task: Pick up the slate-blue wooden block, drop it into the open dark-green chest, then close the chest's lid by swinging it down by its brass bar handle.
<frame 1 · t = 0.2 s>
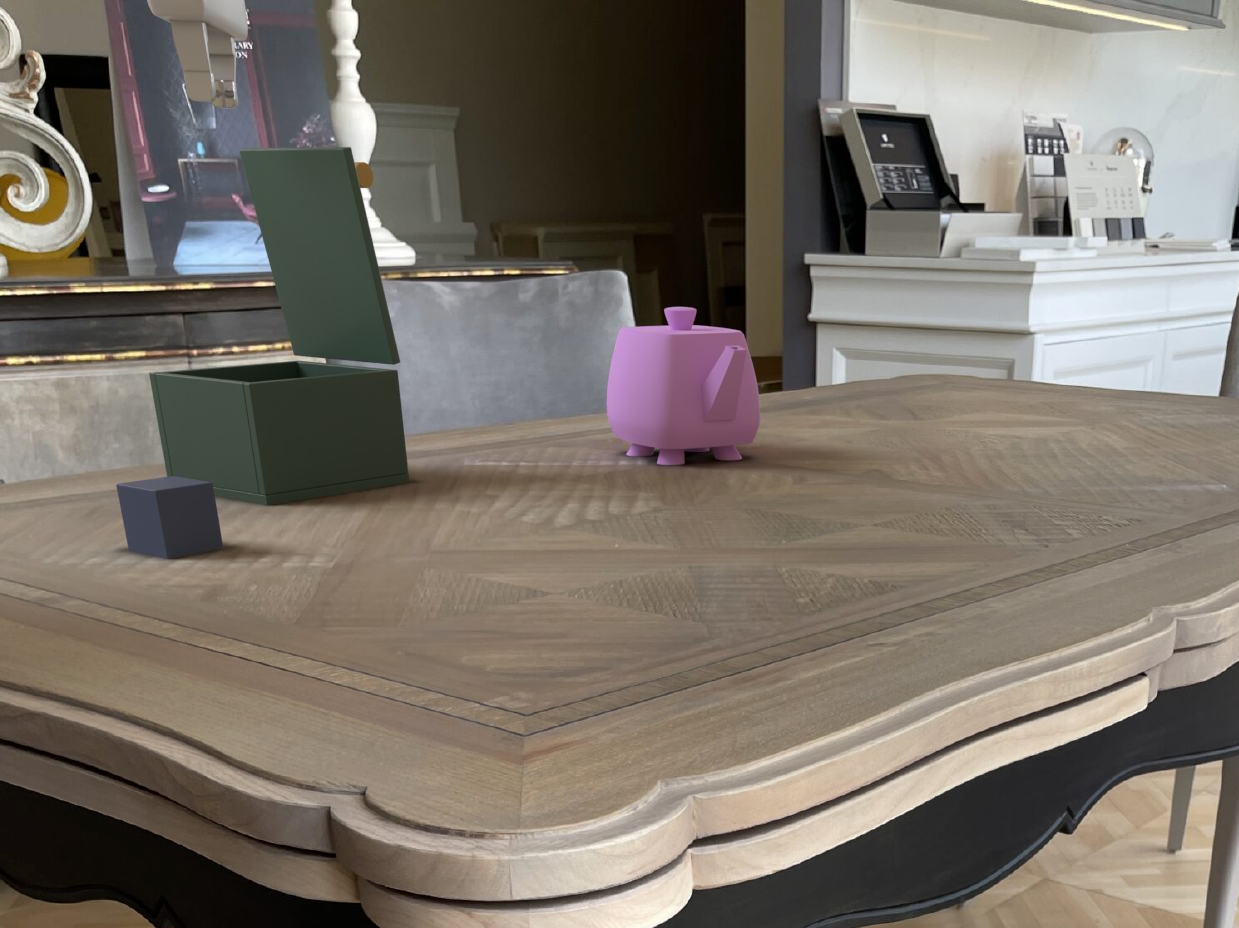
hand: (214, 105, 115), 27 cm above the table, tool pointing down, fingers open, 8 cm apart
block: (176, 551, 106), on the table
teapot: (685, 460, 147), on the table
chest: (291, 486, 130), on the table
lid: (342, 251, 128), point 17 cm above the table, hinge at 80.0°
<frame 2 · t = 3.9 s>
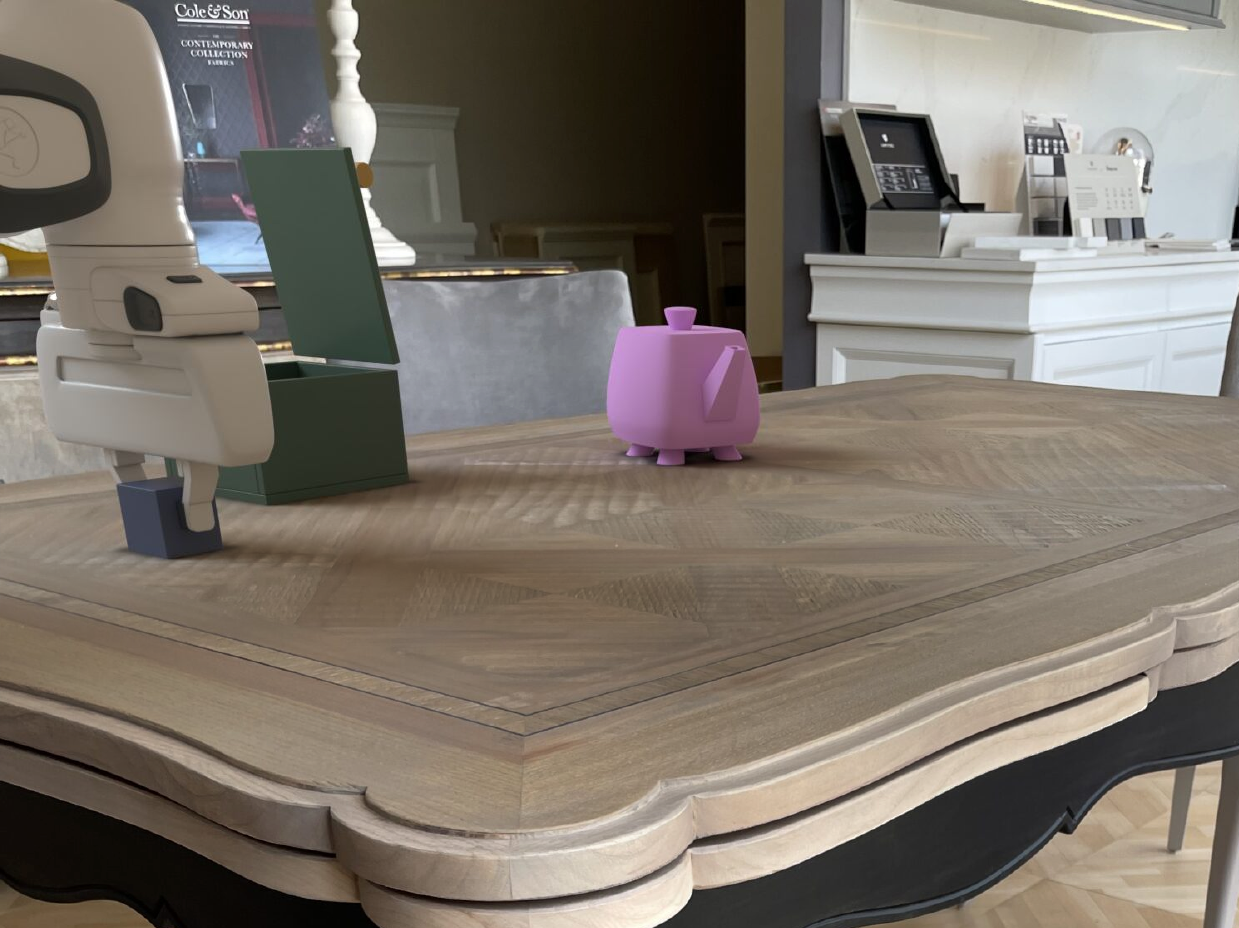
hand: (171, 525, 105), 2 cm above the table, tool pointing down, fingers closed on block, 4 cm apart
block: (176, 551, 106), on the table, touching gripper
everything else where it was.
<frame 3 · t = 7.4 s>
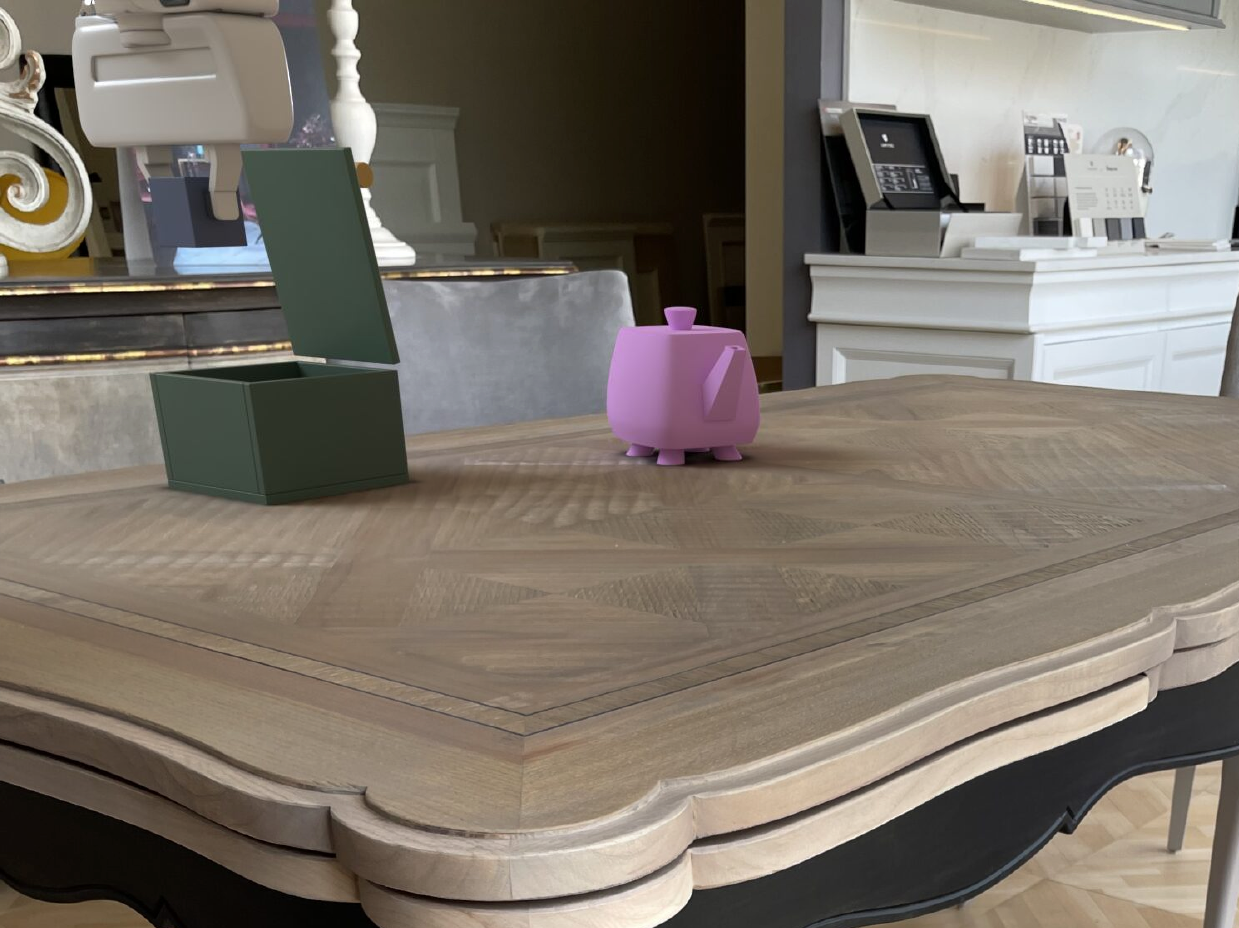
hand: (199, 220, 113), 20 cm above the table, tool pointing down, fingers closed on block, 4 cm apart
block: (204, 246, 114), point 18 cm above the table, touching gripper
everything else where it was.
when the fingers open (9 cm above the table, at t = 10.8 s): block drops 6 cm, resting on chest.
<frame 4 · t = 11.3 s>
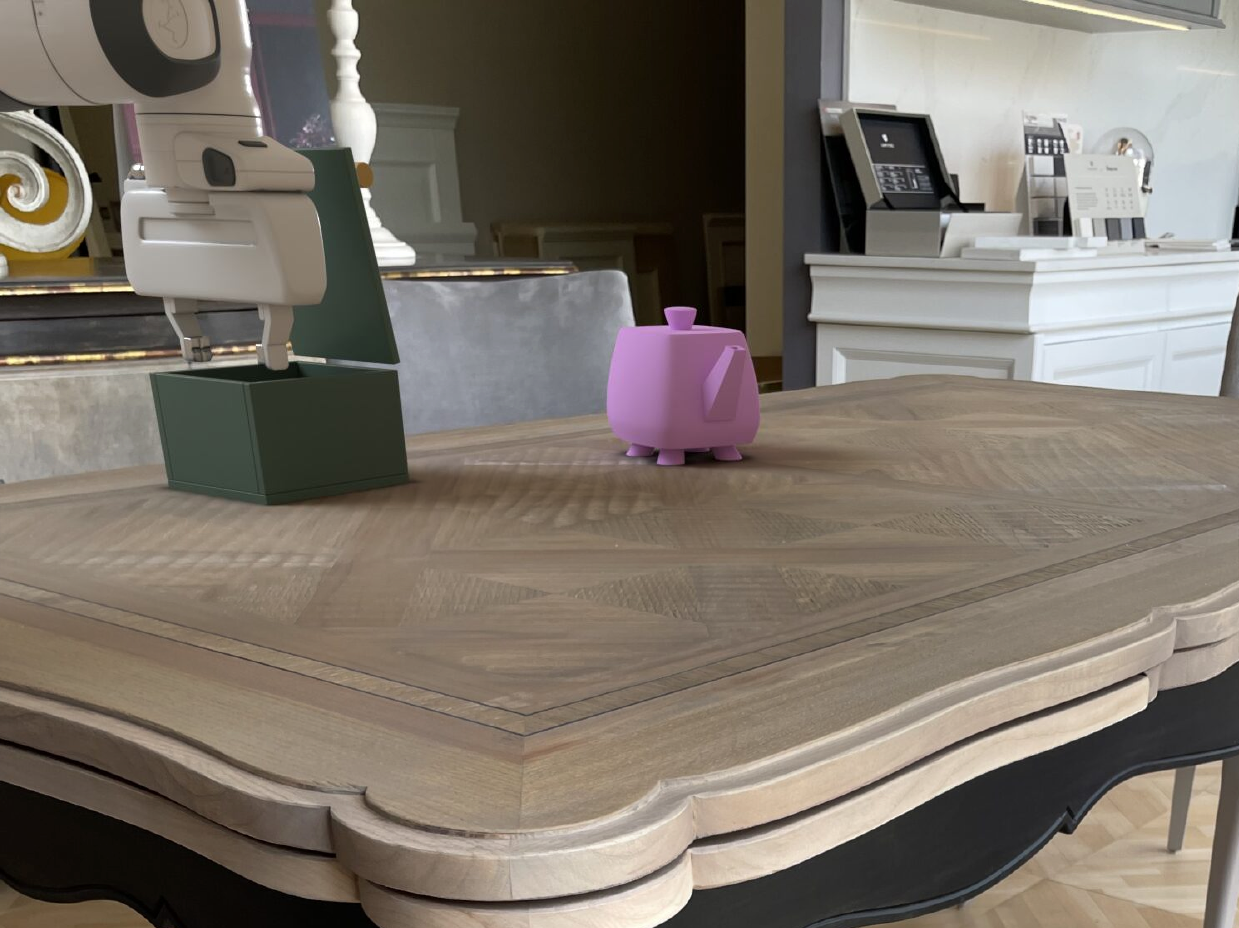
hand: (235, 365, 123), 9 cm above the table, tool pointing down, fingers open, 8 cm apart
block: (254, 481, 127), point 1 cm above the table, touching chest
everything else where it was.
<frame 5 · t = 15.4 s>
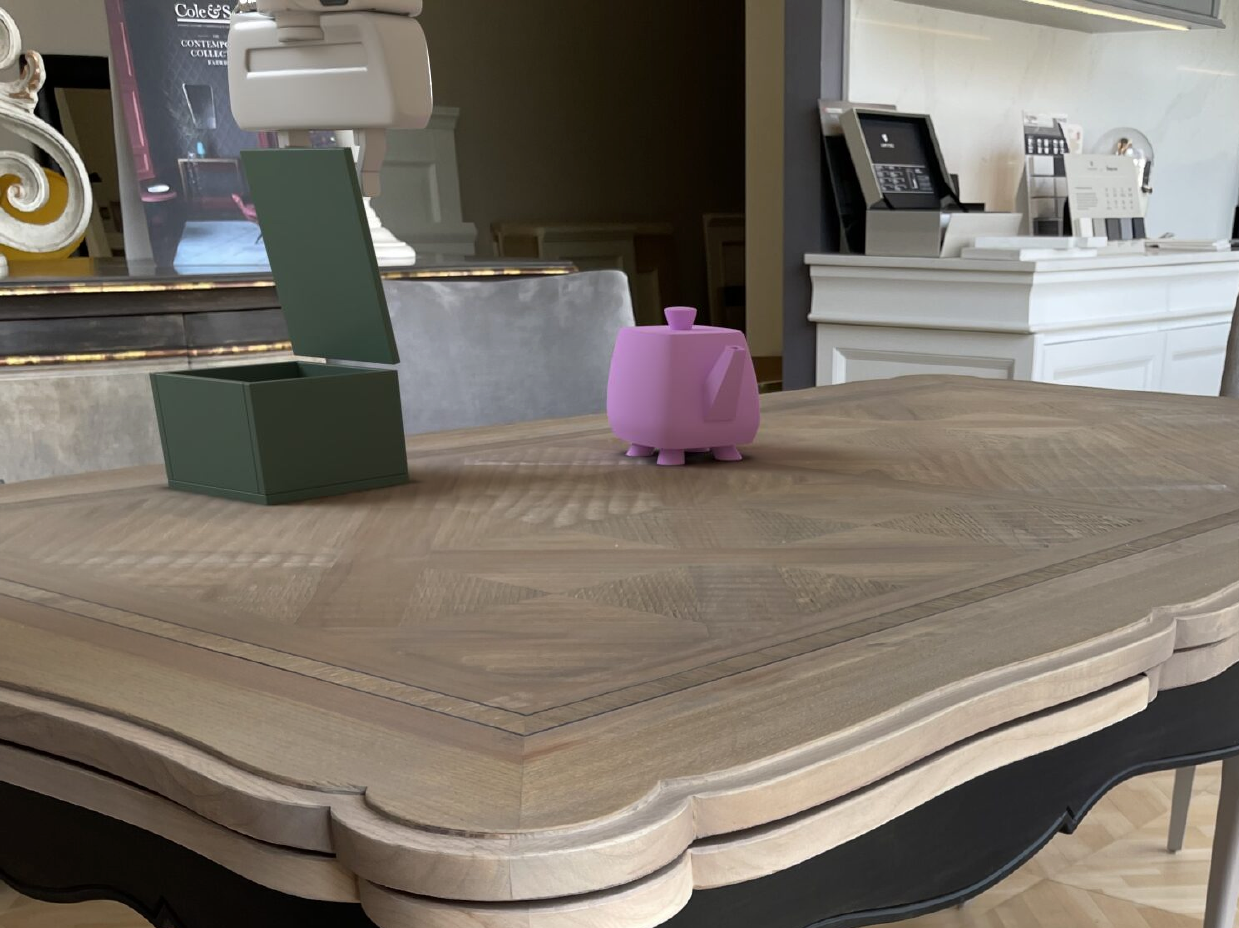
hand: (338, 197, 126), 21 cm above the table, tool pointing down, fingers closed on lid, 5 cm apart
lid: (342, 251, 128), point 17 cm above the table, hinge at 80.0°, touching gripper
everything else where it was.
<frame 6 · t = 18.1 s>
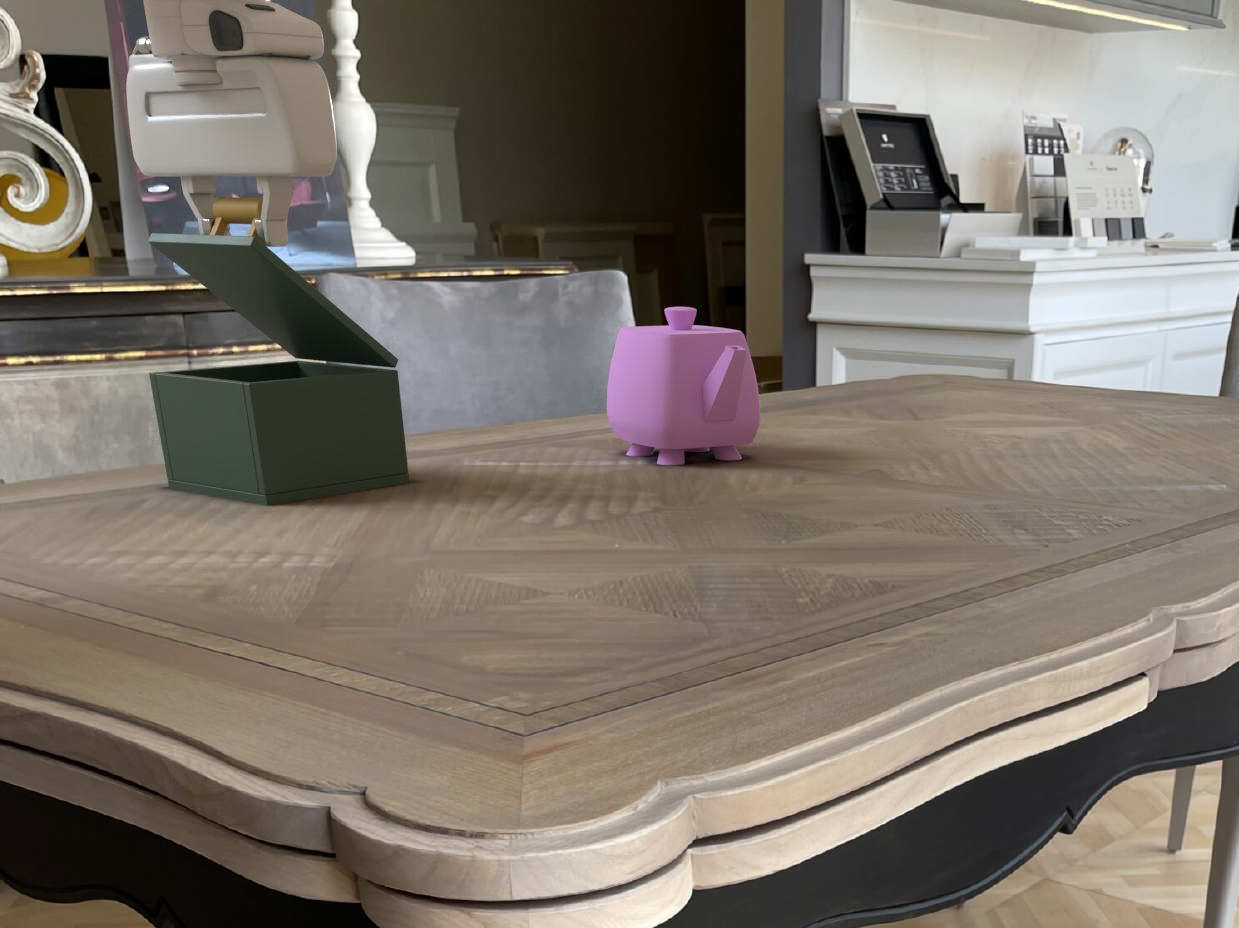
hand: (245, 245, 121), 18 cm above the table, tool pointing down, fingers closed on lid, 5 cm apart
lid: (287, 275, 124), point 16 cm above the table, hinge at 35.9°, touching gripper
everything else where it was.
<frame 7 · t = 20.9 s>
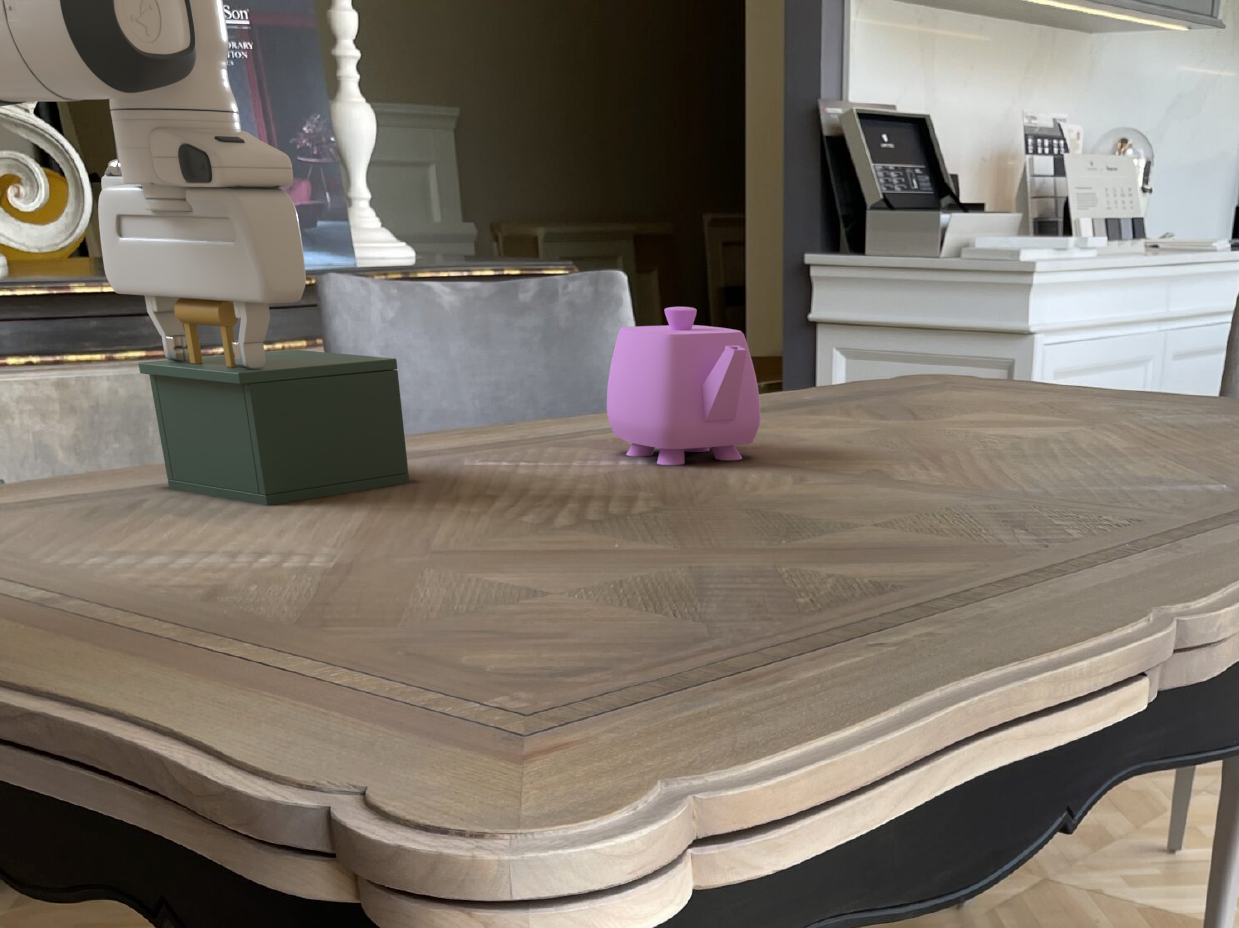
hand: (215, 364, 121), 10 cm above the table, tool pointing down, fingers open, 7 cm apart
lid: (265, 334, 124), point 12 cm above the table, hinge at -0.2°, touching chest
everything else where it was.
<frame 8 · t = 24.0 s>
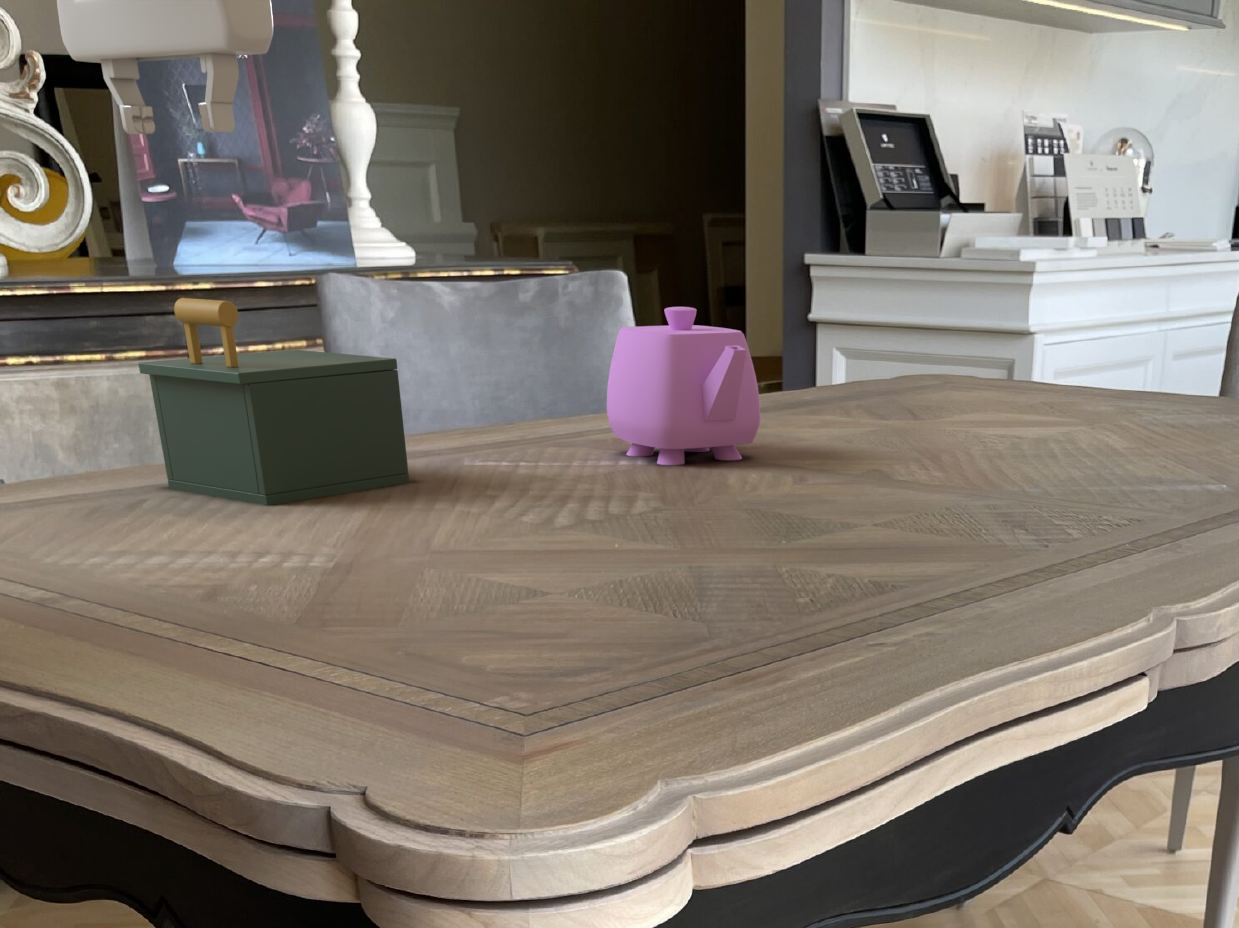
hand: (179, 133, 114), 25 cm above the table, tool pointing down, fingers open, 8 cm apart
nothing on the table moved.
at the end: block inside the target area in the chest (3.6 cm from its centre), point 0.8 cm above the chest's base; lid at +0° (first picture: +80°) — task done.
